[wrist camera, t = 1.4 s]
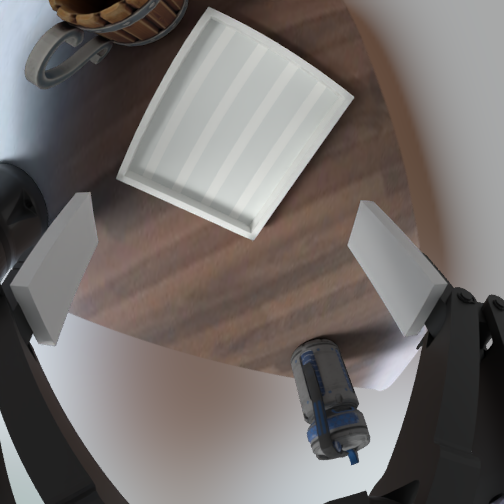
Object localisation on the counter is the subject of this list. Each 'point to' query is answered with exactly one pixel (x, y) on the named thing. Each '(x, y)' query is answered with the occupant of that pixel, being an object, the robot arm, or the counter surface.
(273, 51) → the white tray
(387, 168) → the counter surface
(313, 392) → the grey blue grenade canister
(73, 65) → the mug
